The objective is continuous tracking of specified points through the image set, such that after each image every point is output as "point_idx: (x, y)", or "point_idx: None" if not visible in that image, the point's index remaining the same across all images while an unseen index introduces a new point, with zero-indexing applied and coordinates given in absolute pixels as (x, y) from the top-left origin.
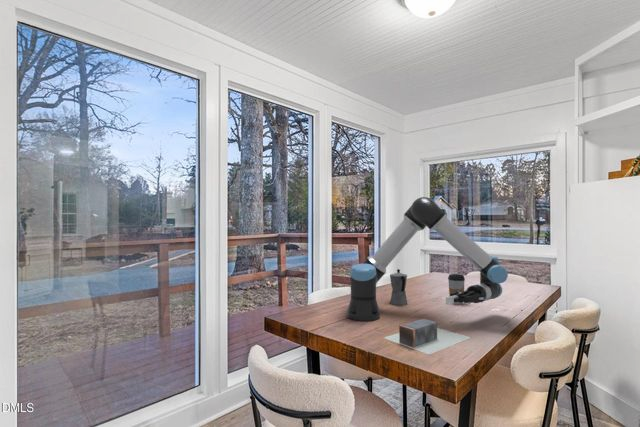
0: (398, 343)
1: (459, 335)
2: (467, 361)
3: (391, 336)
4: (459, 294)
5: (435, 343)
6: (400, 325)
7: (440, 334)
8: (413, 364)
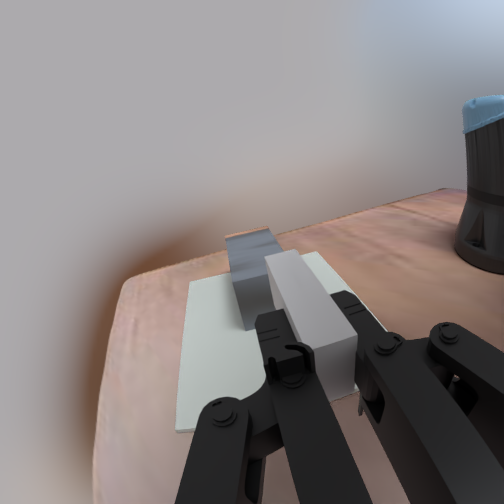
0: None
1: None
2: (124, 318)
3: (318, 262)
4: (287, 344)
5: (221, 312)
6: (266, 227)
7: None
8: (189, 262)
